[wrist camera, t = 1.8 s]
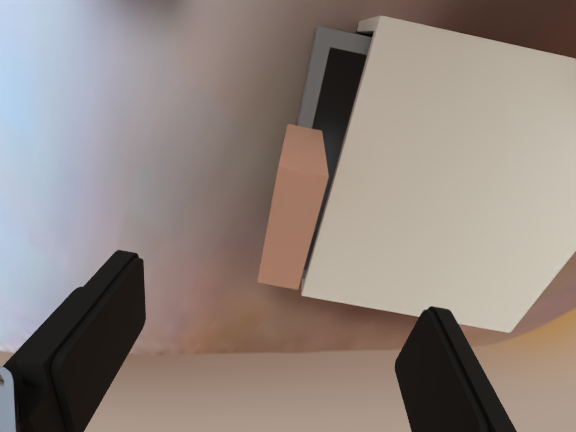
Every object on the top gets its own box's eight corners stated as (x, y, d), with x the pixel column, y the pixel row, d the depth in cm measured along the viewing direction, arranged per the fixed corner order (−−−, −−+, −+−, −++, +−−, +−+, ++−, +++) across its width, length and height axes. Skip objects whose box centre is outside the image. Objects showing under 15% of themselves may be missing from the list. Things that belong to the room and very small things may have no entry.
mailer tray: (306, 25, 21) (305, 16, 10) (573, 84, 22) (850, 136, 11) (269, 227, 29) (244, 349, 18) (465, 264, 30) (559, 402, 19)
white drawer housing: (359, 21, 21) (380, 15, 15) (591, 72, 21) (706, 87, 15) (302, 241, 30) (301, 295, 23) (468, 272, 30) (509, 332, 24)
